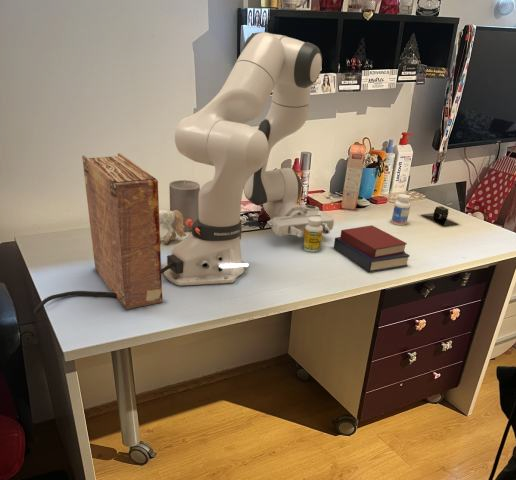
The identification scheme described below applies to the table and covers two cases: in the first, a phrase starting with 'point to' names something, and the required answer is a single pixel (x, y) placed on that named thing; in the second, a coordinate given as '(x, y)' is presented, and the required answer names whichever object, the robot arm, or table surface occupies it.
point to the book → (125, 228)
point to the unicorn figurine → (168, 219)
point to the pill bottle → (401, 210)
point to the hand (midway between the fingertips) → (315, 233)
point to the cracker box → (353, 176)
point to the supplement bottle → (313, 235)
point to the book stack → (372, 248)
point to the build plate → (440, 217)
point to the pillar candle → (184, 200)
